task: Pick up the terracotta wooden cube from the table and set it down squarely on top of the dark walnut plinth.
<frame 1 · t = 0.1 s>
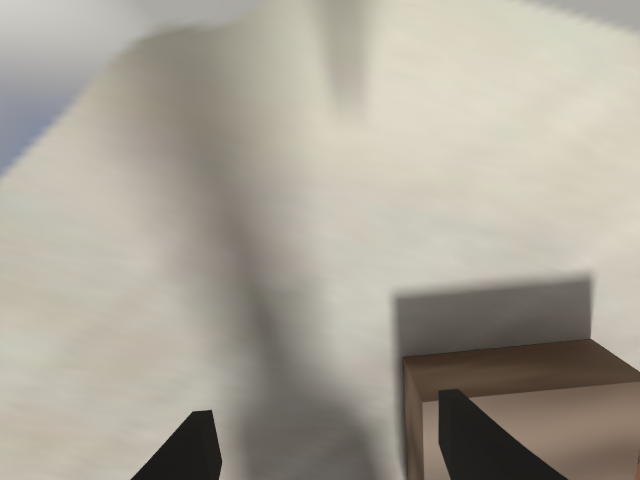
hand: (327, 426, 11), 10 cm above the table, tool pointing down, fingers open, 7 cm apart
walnut plinth: (493, 425, 23), on the table
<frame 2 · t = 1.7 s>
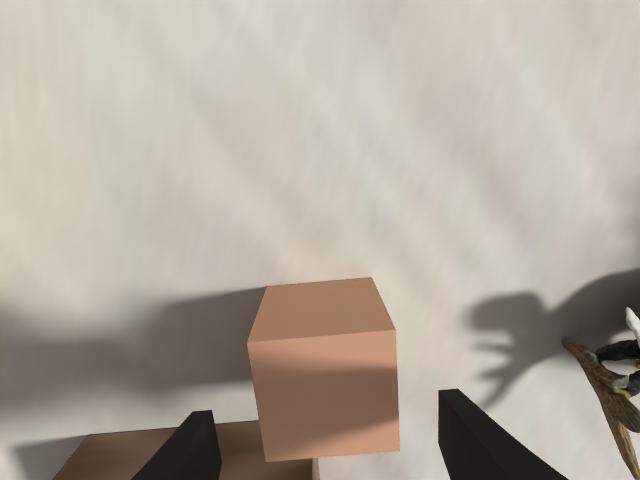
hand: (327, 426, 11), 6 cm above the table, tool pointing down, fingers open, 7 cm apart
terracotta cube: (323, 328, 17), on the table
eagle figurine: (638, 326, 17), on the table
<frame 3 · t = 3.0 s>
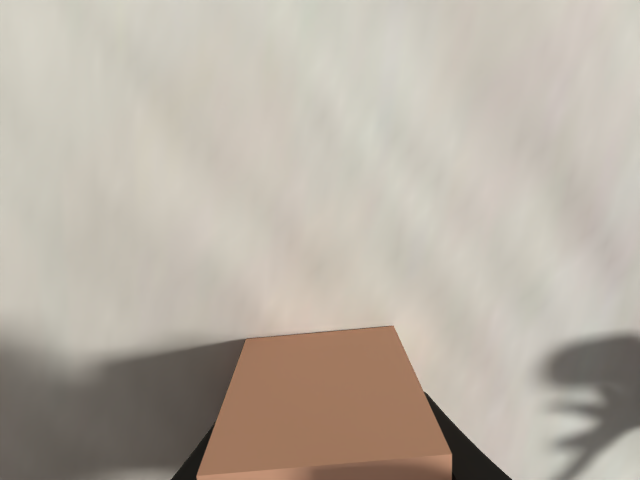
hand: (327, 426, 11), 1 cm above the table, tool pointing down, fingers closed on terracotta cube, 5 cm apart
terracotta cube: (325, 395, 12), on the table, touching gripper
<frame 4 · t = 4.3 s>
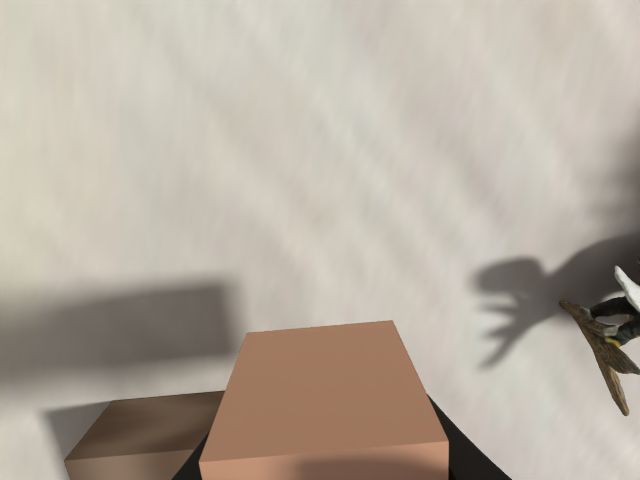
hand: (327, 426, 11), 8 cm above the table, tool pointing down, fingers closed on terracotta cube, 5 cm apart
walnut plinth: (228, 472, 22), on the table
terracotta cube: (325, 389, 12), point 7 cm above the table, touching gripper
eagle figurine: (628, 289, 19), on the table
when the fingers open (7 cm above the table, at t = 5.9 s): terracotta cube drops 1 cm, resting on walnut plinth.
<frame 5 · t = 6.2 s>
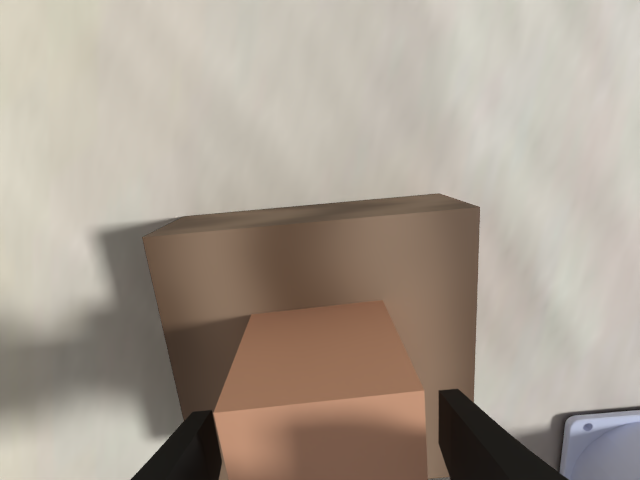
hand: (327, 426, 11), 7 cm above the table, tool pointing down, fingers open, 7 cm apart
walnut plinth: (322, 320, 17), on the table
terracotta cube: (323, 364, 13), point 4 cm above the table, touching walnut plinth
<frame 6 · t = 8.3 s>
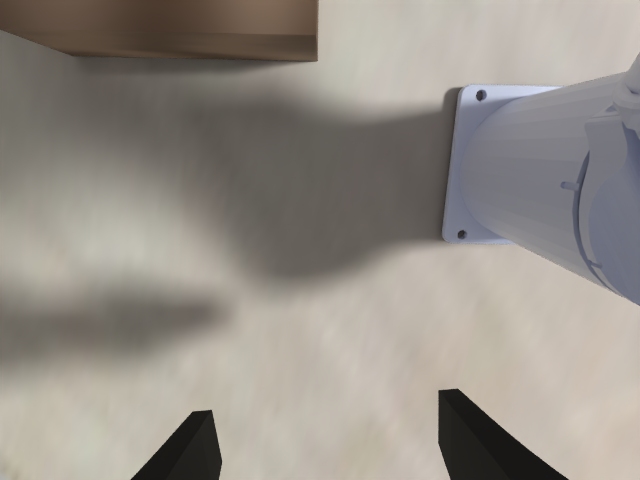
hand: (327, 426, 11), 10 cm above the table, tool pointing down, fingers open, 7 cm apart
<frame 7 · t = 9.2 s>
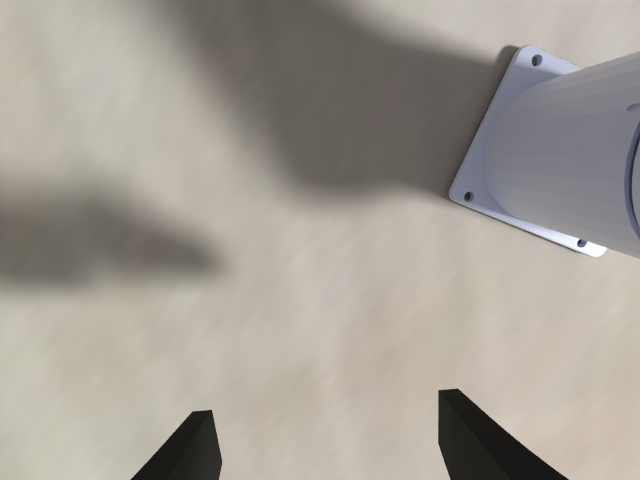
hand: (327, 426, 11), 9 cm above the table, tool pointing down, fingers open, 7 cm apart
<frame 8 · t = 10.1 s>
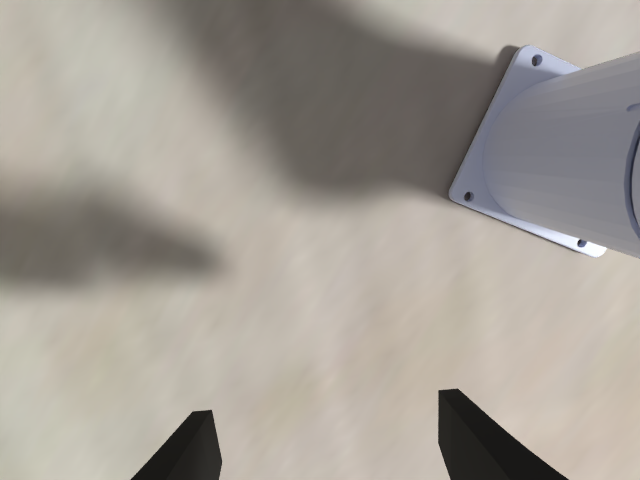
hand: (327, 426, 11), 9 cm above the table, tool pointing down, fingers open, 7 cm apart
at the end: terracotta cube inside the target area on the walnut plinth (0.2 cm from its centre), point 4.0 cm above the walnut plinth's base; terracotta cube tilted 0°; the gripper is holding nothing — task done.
